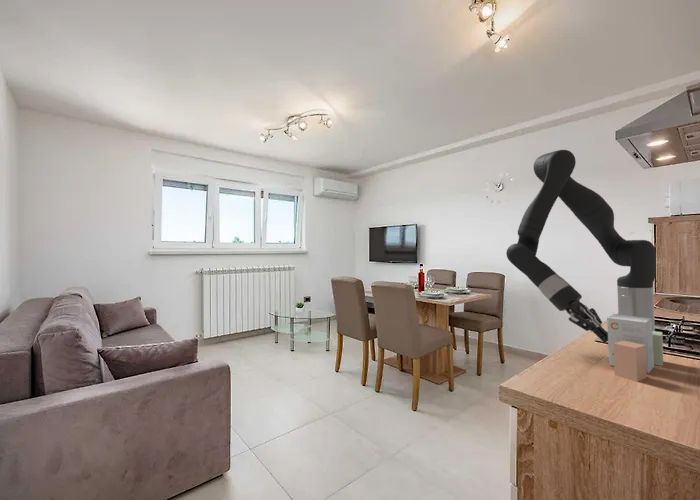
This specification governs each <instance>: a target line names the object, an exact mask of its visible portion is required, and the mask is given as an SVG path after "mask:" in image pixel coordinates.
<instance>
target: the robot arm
mask: <svg viewBox="0 0 700 500" xmlns="http://www.w3.org/2000/svg"><path fill="white" fill-rule="evenodd" d="M575 167H576V157H575V155H574V153H573V152H571V151H570V150H568V149H559V150H553V151H551V152H547V153H544V154H542V155H540V156H538V157H537V158H535V160H534V163H533V172H534V174H535V176H536V177H537V178H538V179H539V180H540V181H541V182H542V183H543V184H542V186H541V188H540V190H539V191H538V193H537V194H536V196H535V197H534V198H533V200H532V201H531V203H529V206H528V207H527V208H526V209H525V212H524V214H523V215H522V218H521V221H520V223H519V226H518V230H517V235H518V241H517V243H513V244H510V245H509V246H508V247H507V249H506V253H505V254H506V258H507V260H508V261H509V263H511V264H512V265H513V266H514V267H515V268H516V269H518V270H519V271H520V272H521V273H522V274H524V275H525V276H526V277H527V278H528V279H529V281H530V282H532V283H533V285H535V287H537V289H538V290H539V292H540V293H541V294H542V295H543V296H544V297H545V298H546V299H547V300H548V301H549V302H550V303H551V304H552V305H553V306H554V307H555V308H556V309H557V310H558V311H559V312H562V311H566V312H567V314H568V315H569V316H570V317H568V321H570V322H571V323H573V324H574V325H577V326H578V327H579V328H581V329H583V330H584V331H586V332H588V331H590V332H591V333H592V332H593V334H595V336H597V337H598V338H599V339H600V340H601V341H602V343H608V330H605V328H603V325H602V324H603V321H602V320H601V318H600V316H599V314H598V312H597V311H596V310H595V308H593V307H591V308H590V307H588V306H587V305H585V303H582V302H581V301H580V300H581V299H582V295H581V294H580V292H578V291H577V290H576V289H575V288H574V287H573V286H572V285H571V284H570V283H569V282H568V281H567V280H566V279H564V278H563V277H561V275H559V274H558V273H557V272H556V271H554V270H553V269H552V268H551V267H550V266H549V265H548V264H547V263H546V262H543V261H542V260H541V259H539V258H538V257H537V256H536V255H537V253H538V248H539V243H540V237H541V235H542V232H543V230H544V228H545V225H546V223H547V220H548V217H549V215H550V213H551V211H552V209H553V206H554V205H555V203H556V202H557V199H558V197H559V199H560V200H561V201H562V202H563V203H564V204H565V206H567V208H568V209H569V210H570V211H571V213H572V214H573V215H574V216H575V217H576V218H577V220H579V221H580V223H581V224H582V225H584V227H585V228H586V229H587V230H588V231H589V232H590V233H591V235H592V236H593V237H594V238H595V239H596V240H597V242H598V243H599V245H600V246H601V247H602V249H603V250H604V252H605V253H606V255H607V256H608V257H609V259H610V260H611V261H612V262H613V263H614V264H615V265H618V266H619V267H629V273H627V274H626V275H623V276H620V277H618V278H617V280H616V285H617V286H616V287H617V291H616V292H617V315H626V316H635V317H644V318H651V319H652V331H656V327H655V324H656V323H655V299H654V297H655V296H654V281H655V279H656V269H657V268H656V267H657V251H656V248H655V245H654V244H653V243H652V242H651V241H649V240H646V239H629V240H628V239H627V240H626V239H625V238H624V237H622V236H621V235H620V233H619V232H617V230H616V229H615V213H614V211H613V208H612V206H610V204H608V202H607V201H606V200H605V199H604V198H603V197H602V196H601V195H600V194H599V193H597V192H596V191H595V190H592V189H591V188H589V187H587V186H585V185H583V184H581V183H580V182H577V181H576V180H575V179H574V178H573V177H571V175H572V174H573V171H574V169H575Z"/></svg>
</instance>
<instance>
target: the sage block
mask: <svg viewBox="0 0 700 500" xmlns="http://www.w3.org/2000/svg"><path fill="white" fill-rule="evenodd" d="M652 334H653V354H654V366H655V365H656V366H660V367H663V365H664V344H663V343H664V342H663V338H664V337H663V332H662V331H656V330H655V331H652Z"/></svg>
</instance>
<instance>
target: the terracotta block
mask: <svg viewBox="0 0 700 500" xmlns="http://www.w3.org/2000/svg"><path fill="white" fill-rule="evenodd" d="M613 367H614V376H615V377H616V376H617V377H618V378H619V377H620V378H623V379H627V380H630V381H633V382H636V383H638V382H640V381H643V380H645V379H647V377H648V376H647V375H648V373H647V369H646V345H643V344H638V343H633V342H628V341H620V342H617V343H614V366H613Z"/></svg>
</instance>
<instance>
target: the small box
mask: <svg viewBox="0 0 700 500" xmlns="http://www.w3.org/2000/svg"><path fill="white" fill-rule="evenodd" d="M606 321H607V323H606V324H607V326H606V327H607V332H608V341H607V347H608V364H609V366H612V367H614V343H617V342H620V341H628V342H633V343H638V344H643V345H646V369H647V374H650V372H651V371H652V370H653V368H654V367H655V365H654V354H653V334H652V319H651V318H644V317H635V316H626V315H618V314H615V313H613V314H611V315H610V316H608V317H607V318H606Z"/></svg>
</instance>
